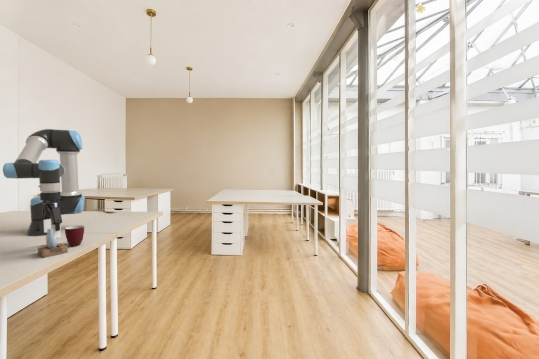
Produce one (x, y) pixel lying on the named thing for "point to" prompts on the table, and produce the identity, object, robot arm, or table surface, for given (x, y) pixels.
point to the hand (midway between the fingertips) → (52, 234)
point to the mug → (74, 235)
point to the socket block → (52, 250)
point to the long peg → (51, 239)
